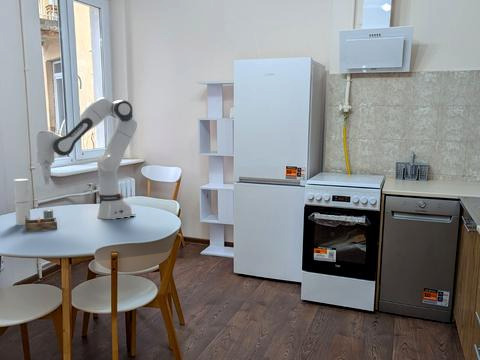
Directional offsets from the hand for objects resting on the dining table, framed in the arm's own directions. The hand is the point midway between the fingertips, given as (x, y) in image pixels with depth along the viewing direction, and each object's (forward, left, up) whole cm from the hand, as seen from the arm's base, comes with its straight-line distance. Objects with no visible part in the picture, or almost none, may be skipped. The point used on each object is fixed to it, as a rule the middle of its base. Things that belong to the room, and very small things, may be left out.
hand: (46, 183), depth 232 cm
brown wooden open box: (+4, +15, -22) cm, 27 cm away
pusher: (+5, +15, -21) cm, 27 cm away
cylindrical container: (+13, 0, -22) cm, 26 cm away
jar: (0, 0, -22) cm, 22 cm away
